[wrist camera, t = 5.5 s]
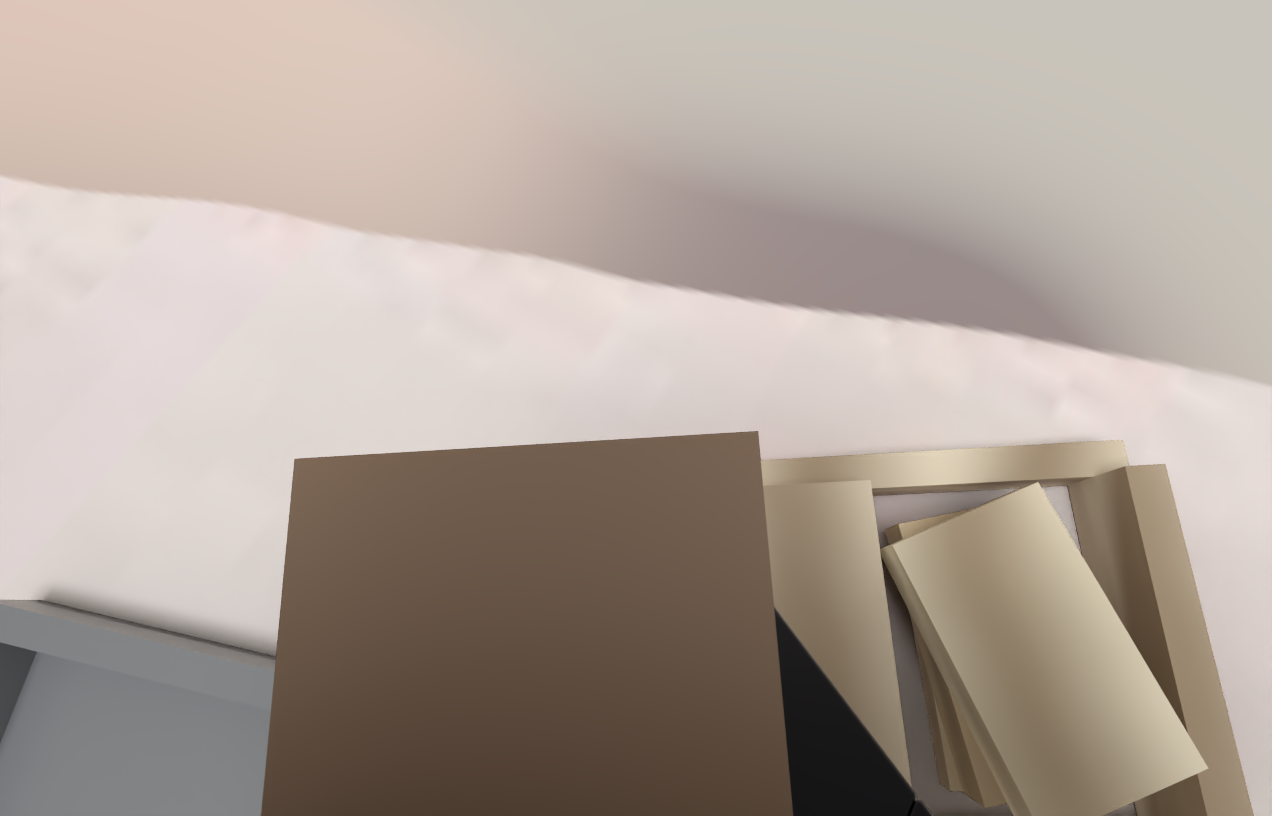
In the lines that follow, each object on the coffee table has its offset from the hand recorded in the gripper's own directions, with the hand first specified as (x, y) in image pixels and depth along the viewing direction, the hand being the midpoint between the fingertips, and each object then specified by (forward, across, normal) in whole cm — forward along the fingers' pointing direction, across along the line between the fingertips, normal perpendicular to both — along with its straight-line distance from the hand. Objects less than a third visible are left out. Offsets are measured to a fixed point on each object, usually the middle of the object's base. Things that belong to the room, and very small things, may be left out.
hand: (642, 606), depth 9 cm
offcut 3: (+7, -9, +8) cm, 14 cm away
